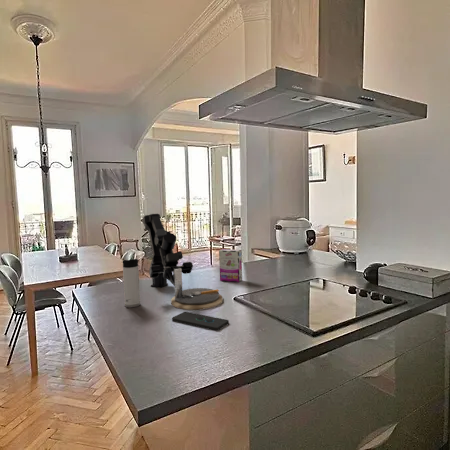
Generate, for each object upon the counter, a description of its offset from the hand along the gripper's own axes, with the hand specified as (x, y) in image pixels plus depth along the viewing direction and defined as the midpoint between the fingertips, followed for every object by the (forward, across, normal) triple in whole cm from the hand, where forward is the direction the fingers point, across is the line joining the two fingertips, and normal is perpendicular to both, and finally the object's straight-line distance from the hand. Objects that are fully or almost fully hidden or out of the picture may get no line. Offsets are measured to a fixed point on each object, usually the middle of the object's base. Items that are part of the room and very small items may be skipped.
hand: (175, 285), depth 150 cm
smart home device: (+25, +1, -14) cm, 29 cm away
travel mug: (+2, -18, +8) cm, 20 cm away
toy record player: (+7, +8, +1) cm, 11 cm away
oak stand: (+8, +8, +2) cm, 11 cm away
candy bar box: (-10, +36, +20) cm, 42 cm away
